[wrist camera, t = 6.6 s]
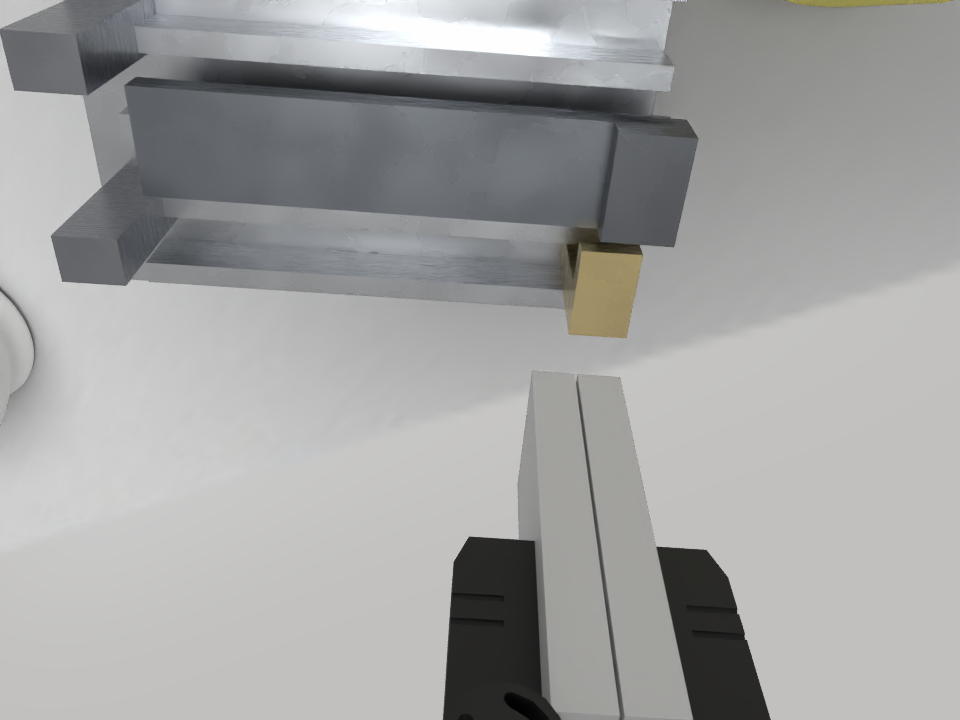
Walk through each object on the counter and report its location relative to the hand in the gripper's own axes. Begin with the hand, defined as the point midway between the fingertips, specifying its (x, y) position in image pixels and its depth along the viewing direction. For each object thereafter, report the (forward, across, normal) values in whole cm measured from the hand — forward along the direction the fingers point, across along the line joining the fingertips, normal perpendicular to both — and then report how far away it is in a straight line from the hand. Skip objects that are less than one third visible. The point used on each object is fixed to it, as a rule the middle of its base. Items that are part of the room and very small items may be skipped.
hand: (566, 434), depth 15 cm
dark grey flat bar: (+14, +4, 0) cm, 15 cm away
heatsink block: (+23, +6, 0) cm, 24 cm away
